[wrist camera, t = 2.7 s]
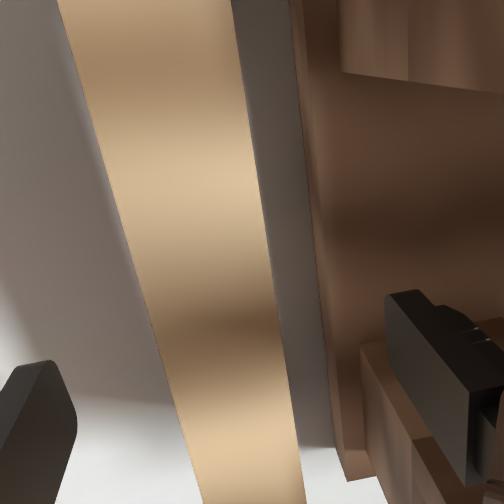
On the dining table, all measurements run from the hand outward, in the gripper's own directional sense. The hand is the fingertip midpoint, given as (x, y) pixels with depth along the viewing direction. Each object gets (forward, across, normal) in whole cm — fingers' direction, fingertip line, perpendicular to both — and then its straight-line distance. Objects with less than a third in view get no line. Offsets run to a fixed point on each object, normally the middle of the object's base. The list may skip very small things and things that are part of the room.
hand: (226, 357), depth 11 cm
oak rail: (+8, 0, 0) cm, 8 cm away
